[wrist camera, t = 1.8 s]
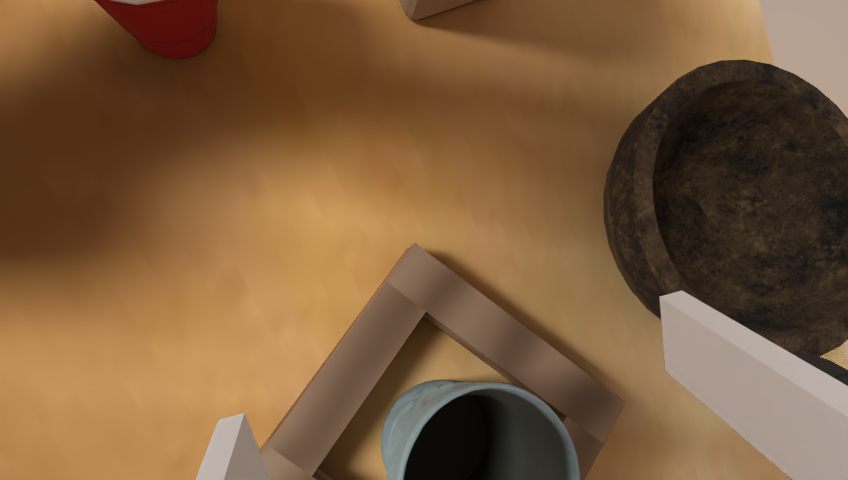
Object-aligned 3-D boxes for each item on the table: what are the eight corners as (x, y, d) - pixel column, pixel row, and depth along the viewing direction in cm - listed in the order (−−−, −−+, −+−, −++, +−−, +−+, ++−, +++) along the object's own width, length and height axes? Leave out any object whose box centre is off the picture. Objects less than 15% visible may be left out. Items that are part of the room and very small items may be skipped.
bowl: (790, 168, 49) (907, 130, 39) (749, 388, 44) (872, 406, 35) (595, 76, 46) (671, 10, 36) (528, 302, 41) (596, 296, 31)
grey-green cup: (394, 532, 36) (434, 631, 24) (350, 394, 37) (369, 427, 25) (518, 473, 39) (608, 538, 27) (475, 346, 39) (544, 356, 28)
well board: (237, 480, 34) (230, 495, 31) (407, 248, 39) (415, 243, 36) (469, 639, 36) (483, 667, 33) (603, 397, 41) (625, 402, 38)
